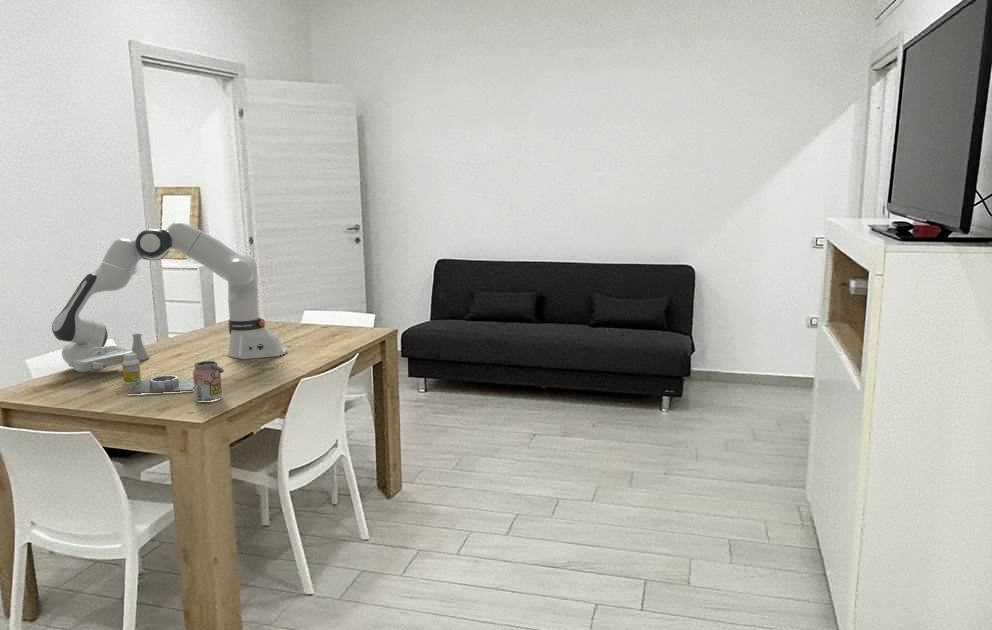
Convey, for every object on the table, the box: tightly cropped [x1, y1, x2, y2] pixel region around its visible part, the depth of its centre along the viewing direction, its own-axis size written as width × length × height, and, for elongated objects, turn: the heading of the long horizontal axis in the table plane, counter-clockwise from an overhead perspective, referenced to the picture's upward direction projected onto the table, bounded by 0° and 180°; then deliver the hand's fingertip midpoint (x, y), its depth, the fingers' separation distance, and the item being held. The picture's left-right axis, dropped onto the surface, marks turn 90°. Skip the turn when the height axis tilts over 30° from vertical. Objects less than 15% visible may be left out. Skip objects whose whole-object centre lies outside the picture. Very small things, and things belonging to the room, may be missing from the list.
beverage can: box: [192, 360, 224, 402], centre depth 250 cm, size 9×8×12 cm
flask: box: [130, 333, 151, 362], centre depth 305 cm, size 7×7×10 cm
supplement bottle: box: [121, 353, 142, 384], centre depth 273 cm, size 5×5×10 cm
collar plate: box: [126, 374, 194, 395], centre depth 264 cm, size 20×14×4 cm
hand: (116, 363), depth 277 cm, fingers open, 8 cm apart
